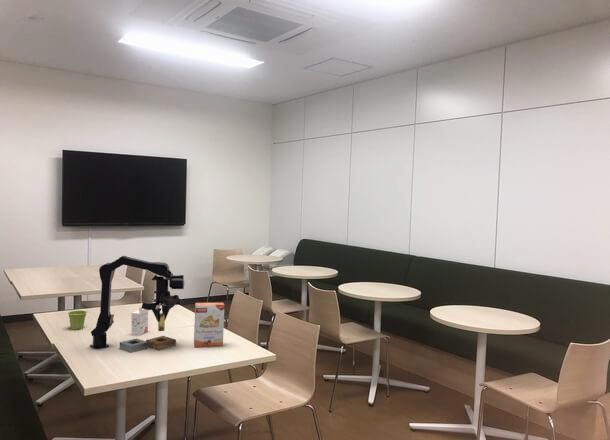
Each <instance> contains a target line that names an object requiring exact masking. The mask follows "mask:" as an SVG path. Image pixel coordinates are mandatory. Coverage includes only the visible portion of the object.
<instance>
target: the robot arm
mask: <svg viewBox="0 0 610 440" xmlns="http://www.w3.org/2000/svg"><path fill="white" fill-rule="evenodd" d="M122 266H128V267H132V268H136V269H140V270H145V271H147V272H151V273H152V274H154V276H153V277H152V278H151V281H155V290H154V291H153V294H155V299H153V302H152V301H146V302H143V303H142V304H141V307H142V310H143V309H146V310H148V311H152V314H153V315H154V317H155V319H156V321H157V323H158V322H160V313H164V314H165V321H166V320H167V317H168V314H169V312H170V310H171V309H172V308H174V307H176V306H179V305H181V303H182V302H181V298H179V297H180V296H179V295H178V294H174V295H171V291H170V290H169V288H170V289H171V290H184V289H185V278H184V274H177V275H176V274H175V275H174V273H172V271H171V270H170V266H169V264H168V263H166V262H161V261H160V262H159V261H158V262H157V261H154V262H153V261H148V260H147V261H146V260H144V259H143V260H142V259H139V258H136V257H135V258H134V257H130V256H127V255H122V256H120V257H118V258H117V259H115V260H114V261H112V262H107V263H104V264H102V265H101V266H100V267H99V268H98V273H99V278H100V281H101V290H100V291H101V292H100V294H101V295H100V310H99V315H98V318H97V322H96V325H95V327H94V328H93V329H92V330H91V331H90V334H91V336H92V344H90V345H89V347H90V348H92V349H96V350H99V349H103V348H107V347H110V344H108V343H107V339H108V338H107V336H108V335H107V332H108V330H110V328H112V325H113V324H114V322H115V321H114V317H115V314H112V313H111V297H112V282H113V279H114V276H115V272H116V270H117V269H119V268H120V267H122ZM161 311H162V312H161Z"/></svg>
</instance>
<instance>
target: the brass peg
mask: <svg viewBox="0 0 610 440" xmlns="http://www.w3.org/2000/svg"><path fill="white" fill-rule="evenodd" d="M165 323H166V320H165V314H164V313H162V312H160V322H158V321H157V331H158V332H164V331H165V328H166V327H165Z"/></svg>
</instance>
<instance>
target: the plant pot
mask: <svg viewBox="0 0 610 440" xmlns="http://www.w3.org/2000/svg"><path fill="white" fill-rule="evenodd" d="M87 314H88V311H85V310H71V311H68V312H67V315H68V318H69V325H70V329H71V330H73V331H77V330H83V329H84V328H85V327H84V325H85V320H86V316H87Z"/></svg>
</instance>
